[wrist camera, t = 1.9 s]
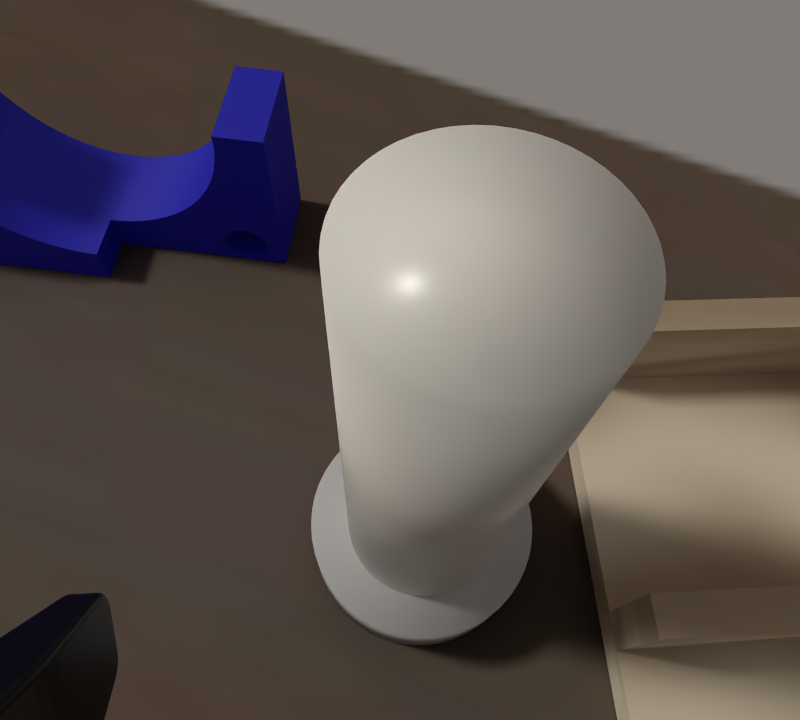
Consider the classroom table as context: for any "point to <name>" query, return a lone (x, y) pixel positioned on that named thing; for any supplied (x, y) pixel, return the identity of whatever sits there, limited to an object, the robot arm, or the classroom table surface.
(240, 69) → the blue curved cradle
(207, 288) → the classroom table surface
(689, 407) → the slot rack
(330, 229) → the white bulb knob
